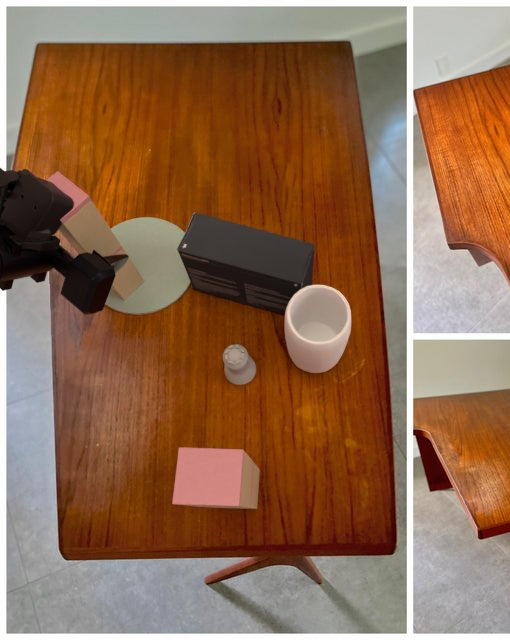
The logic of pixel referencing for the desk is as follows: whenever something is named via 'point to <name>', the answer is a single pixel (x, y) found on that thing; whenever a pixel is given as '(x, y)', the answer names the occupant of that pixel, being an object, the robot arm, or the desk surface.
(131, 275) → the pink-topped tan pillar
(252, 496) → the tall pink tan block
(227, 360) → the rook chess piece
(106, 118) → the desk surface
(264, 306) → the box
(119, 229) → the plate
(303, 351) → the cup
